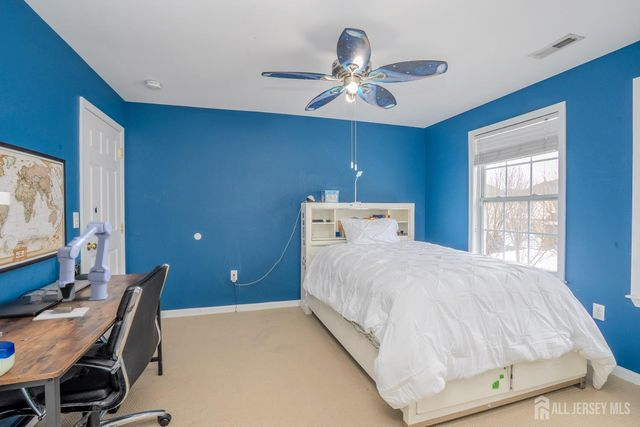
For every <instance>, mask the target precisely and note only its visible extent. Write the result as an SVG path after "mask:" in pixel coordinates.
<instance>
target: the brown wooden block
mask: <svg viewBox="0 0 640 427" xmlns="http://www.w3.org/2000/svg"><path fill="white" fill-rule="evenodd" d="M76 307H77V302H69V303H60V304H59V305H58V306H57V307H55V308H54V310H55V314H59V313H71V312H72V311H73V310H74V309H75V308H76Z"/></svg>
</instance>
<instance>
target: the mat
mask: <svg viewBox="0 0 640 427" xmlns="http://www.w3.org/2000/svg"><path fill="white" fill-rule="evenodd" d="M88 310H90V307H88V306H87V307H86V306H85V307H77V308H75V309H74V310H73V311H72V312H71V313H59V314H55V309H47V310H44V311H42V312H41V313H39V314H38V315H37V316H36V317H34V318H33V319H31V320H32V321H31V322H37V321H50V320H59V319H60V320H61V319H71V318H72V319H73V318H81V317H83V316H84V315H85V314H86V313H87V312H88Z"/></svg>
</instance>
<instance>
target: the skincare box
mask: <svg viewBox="0 0 640 427" xmlns="http://www.w3.org/2000/svg"><path fill="white" fill-rule="evenodd" d="M75 295H76V285H74V286H73V288H72V291H71V294H70V297H69V299H63V300H62V302H71V301H73V300H74V299H75V298H76V296H75ZM58 298H63V297H62V293H61V291H60V289H59V288H57V299H58Z"/></svg>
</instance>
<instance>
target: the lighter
mask: <svg viewBox="0 0 640 427" xmlns="http://www.w3.org/2000/svg"><path fill="white" fill-rule="evenodd" d="M49 291H50V288H47V287H46V288H45V289H44V290H43V293H42V294H40V293H34V294H32V295H31V296H30V302H31V301H36V300H42V301H43V297H45V296H46V295H47V294H48V292H49Z"/></svg>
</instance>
